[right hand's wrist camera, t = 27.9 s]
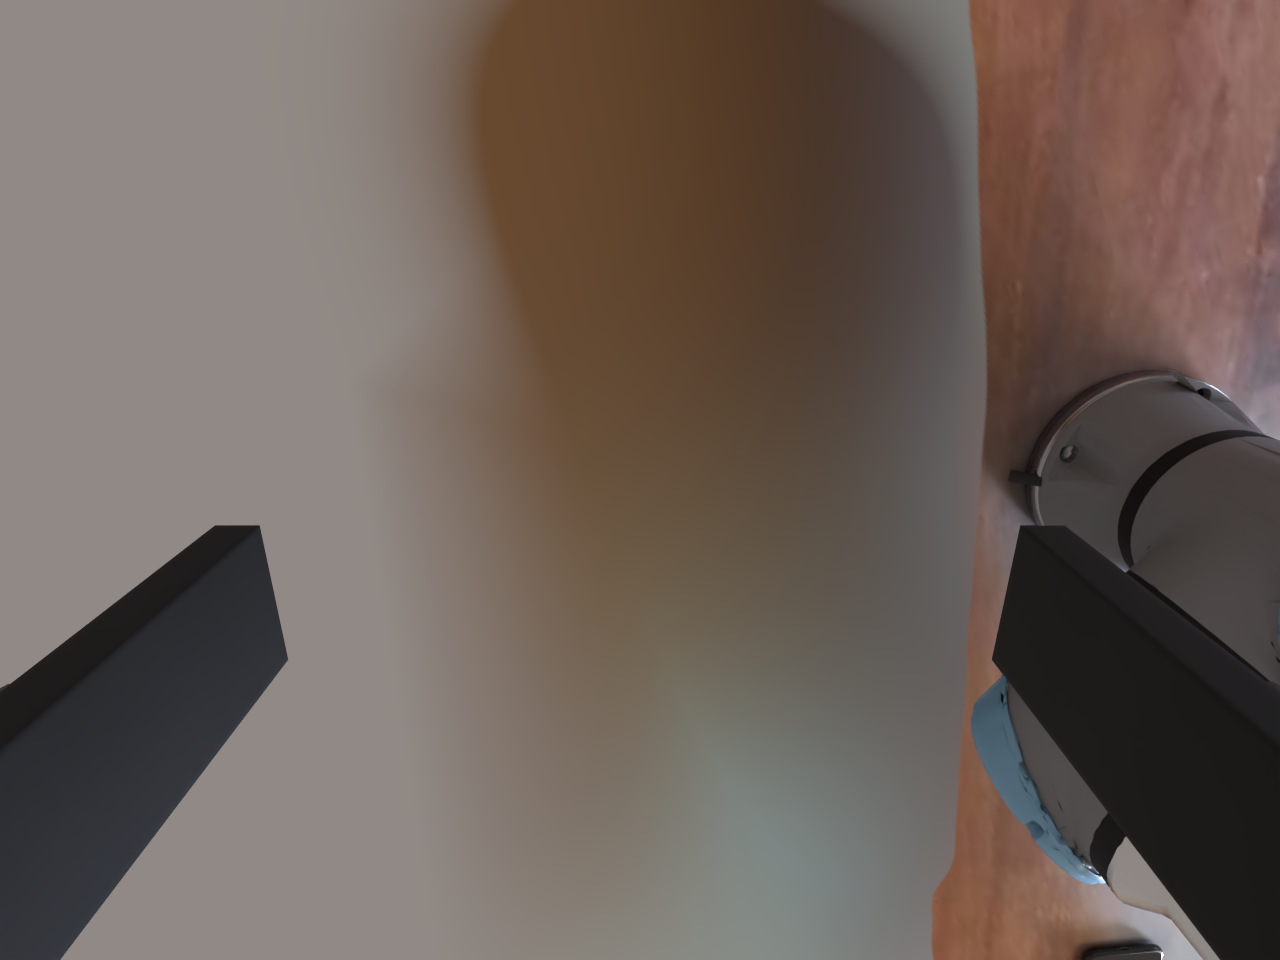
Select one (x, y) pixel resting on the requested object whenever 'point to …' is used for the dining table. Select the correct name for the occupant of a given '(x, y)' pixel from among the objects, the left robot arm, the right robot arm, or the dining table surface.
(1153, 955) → the smartphone
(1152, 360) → the dining table surface
